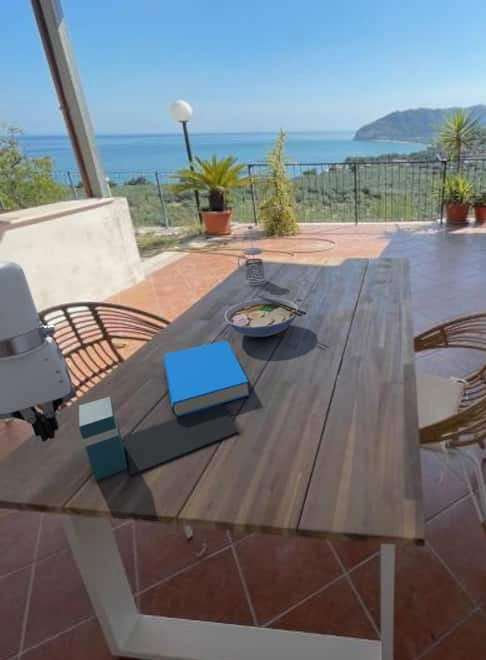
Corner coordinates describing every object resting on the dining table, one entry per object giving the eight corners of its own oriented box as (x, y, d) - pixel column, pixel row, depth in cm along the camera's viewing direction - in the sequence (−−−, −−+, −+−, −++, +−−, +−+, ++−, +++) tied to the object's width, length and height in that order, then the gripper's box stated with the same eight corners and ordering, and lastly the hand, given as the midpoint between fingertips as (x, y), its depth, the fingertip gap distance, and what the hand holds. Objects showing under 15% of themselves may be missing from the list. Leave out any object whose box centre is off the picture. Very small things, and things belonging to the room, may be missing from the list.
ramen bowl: (212, 331, 126) (208, 308, 124) (271, 311, 142) (269, 290, 139) (253, 358, 110) (250, 333, 107) (315, 332, 126) (314, 309, 123)
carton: (95, 480, 70) (78, 426, 66) (94, 456, 76) (78, 405, 71) (127, 468, 73) (113, 415, 69) (123, 446, 78) (110, 396, 74)
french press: (266, 284, 169) (261, 227, 161) (239, 286, 167) (232, 228, 159) (267, 277, 178) (262, 223, 170) (241, 279, 176) (235, 224, 168)
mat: (130, 476, 71) (130, 474, 71) (124, 438, 80) (123, 436, 80) (238, 432, 82) (238, 431, 82) (221, 403, 91) (221, 402, 91)
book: (226, 339, 113) (249, 379, 92) (228, 353, 114) (251, 394, 94) (161, 354, 105) (170, 401, 84) (164, 368, 106) (173, 418, 86)
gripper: (72, 320, 67) (99, 407, 74) (-46, 345, 59) (-5, 440, 66) (72, 336, 62) (101, 430, 68) (-59, 366, 54) (-13, 469, 60)
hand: (49, 435), depth 67 cm, fingers closed
